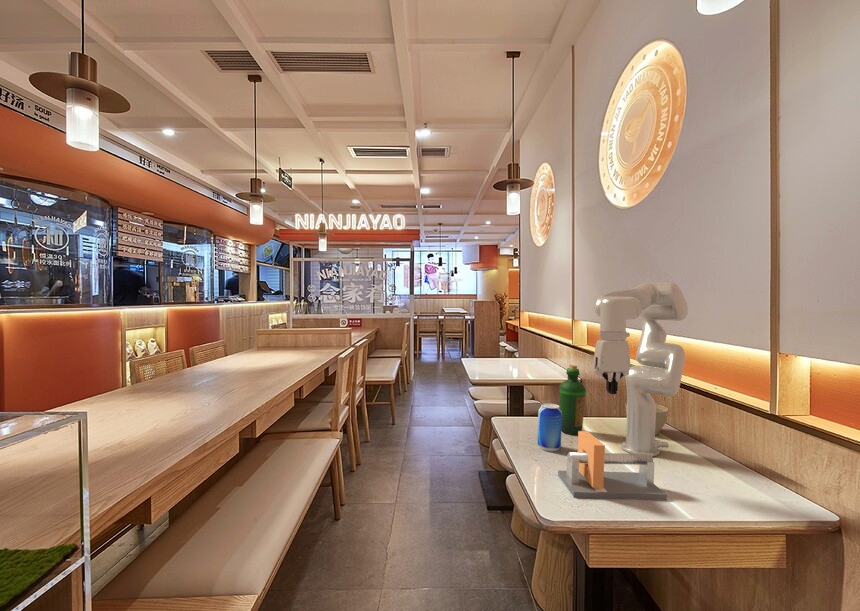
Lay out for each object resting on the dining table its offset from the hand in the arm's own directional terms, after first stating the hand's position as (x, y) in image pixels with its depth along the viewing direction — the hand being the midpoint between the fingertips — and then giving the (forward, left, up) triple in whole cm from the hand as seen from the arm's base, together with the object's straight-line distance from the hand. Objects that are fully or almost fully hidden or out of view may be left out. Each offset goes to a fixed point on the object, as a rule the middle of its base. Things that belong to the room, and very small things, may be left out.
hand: (611, 393), depth 128 cm
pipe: (+4, +10, -24) cm, 27 cm away
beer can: (+13, -20, -26) cm, 36 cm away
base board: (+4, +10, -26) cm, 28 cm away
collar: (+10, +10, -23) cm, 27 cm away
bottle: (-2, -39, -26) cm, 47 cm away
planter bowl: (-35, -42, -26) cm, 60 cm away
